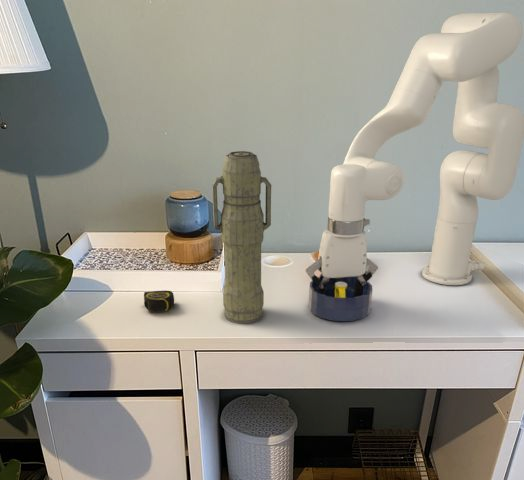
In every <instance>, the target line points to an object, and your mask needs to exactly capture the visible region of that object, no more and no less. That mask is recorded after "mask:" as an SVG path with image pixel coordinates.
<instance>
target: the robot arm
mask: <svg viewBox="0 0 524 480" xmlns="http://www.w3.org/2000/svg"><path fill="white" fill-rule="evenodd" d="M522 27H523V26H522V23H521V20H520V18H519V17H518V16H517V14H516V15H515V13H513V12H508V11H498V12H497V11H496V12H495V11H494V12H465V13H458V14H454V15H452V16H449V17H448V18H446V20H444V22H443V23H442V26H441V28H440V32H435V33H434V32H433V33H427V34H425V35H423V36H421V37H420V38H419V39H418V40H417V41H416V42H415V43H414V46H413V47H412V49H411V52H409V53H410V54H409V56H408V58H407V60H406V62H405V65H404V67H403V69H402V71H401V74H400V76H399V78H398V80H397V83H396V85H395V86H394V89H393V91H392V94H391V95H390V98H389V100H388V102H387V104H386V105H385V106H384V107H383V108H382V109H381V110H380V111H379V112H378V113H376V114H375V115H374V116H373V117H372V118H371V119H370V120H369V121H367V122H366V124H365V125H364V126H363V127H362V128H360V130H358V132H357V134H356V135H355V137H354V139H353V140H352V142H351V144H350V146H349V148H348V151H347V153H346V155H345V158H344V161H343V163H342V164H338V165H335V166H334V167H333V168H332V169H331V172H330V178H329V179H330V180H329V181H330V182H329V196H328V198H329V199H328V212H327V213H328V214H327V215H328V216H327V229H324V230H323V231H322V235H321V240H320V244H319V251H318V252H319V257H318V260H317V261H316V262H315V263H314V262H312V263H311V265H309V266H308V267H307V268H306V269H305V272H306V274H307V276H308V277H309V278H310V279H311V281H313V282H314V283H315V284H316V285H318V293H321V294H323V295H326V294H327V289H326V287H325V285H326V284H327V282H328V281H329V279H330V278H344V277H356V279H357V280H356V281H355V283H354V293H353V297H358V296H362V295H363V286H364V285H366V282H367V281H368V282H369V281H370V279H372V277H373V275H374V274H375V273H376V272H377V271H378V270H379V266H378V265H377V264H376V263H375V262H374V261H372V260H370V259H369V258H368V248H367V247H368V246H367V245H368V244H367V235H366V231H365V227H366V226H370V224H371V220H370V219H369V218H366V217H365V210H366V202H367V201H387V200H390V199H393V198H394V197H396V196H398V194H400V192H401V191H402V190H403V189H402V188H403V186H404V183H405V176H404V174H403V171H402V170H401V168H400V167H398V166H397V165H396V164H394V163H390V162H387V161H382V160H379V159H375V155H376V154H377V153H378V151H379V149H381V147H382V146H383V145H384V144H386V142H387V141H389V140H391V139H392V138H393V137H395V136H397V135H399V134H402V133H405V132H407V131H409V130H411V129H414V128H416V127H419V126H421V125H423V123H424V122H425V121H426V120H427V117H428V115H429V113H430V112H431V109H432V107H433V104H434V102H435V100H436V98H437V97H438V94H439V91H440V89H441V88H442V86H443V83H444V82H452V83H453V82H454V83H455V82H456V83H457V92H456V100H455V107H454V115H453V123H452V136H453V138H454V140H455V141H456V142H457V143H459V144H462V145H465V146H470V147H475V148H480V149H487V150H488V153H484V152H480V151H474V150H468V149H458V150H454V151H452V152H450V153H448V155H446V157H444V159H443V160H442V162H441V165H440V169H439V201H438V209H437V216H436V222H435V228H434V235H433V240H432V241H433V242H432V246H431V247H432V248H431V253H430V260H429V264H428V265H427V266H424V268H422V270H421V275H422V277H423V278H424V279H425V280H427V281H429V282H432V283H434V284H438V285H444V286H462V285H467V284H469V283H470V282H472V280H473V274H472V272H474V271H484V270H485V269H486V263H485V262H476V260H470V258H471V252H472V247H473V243H474V237H475V232H476V228H477V227H476V226H477V221H478V217H479V203H478V198H481V199H485V200H491V201H498V200H501V199H503V198H505V197H506V196H507V195H508V194H509V193H510V191H511V190H512V188H513V186H514V183H515V180H516V177H517V172H518V168H519V163H520V158H521V154H522V153H521V152H522V148H523V143H524V113H523V111H522V109H521V108H520V107H518V106H517V105H515V104H510V103H503V102H498V91H499V84H500V71H499V66H498V65H501V64H502V63H503V62H505V61H506V60H508V59H509V58H510V57H511V56H512V55H513V54H514V52H515V51H516V50H517V48H518V47H519V44H520V43H521V39H522V34H523V28H522ZM367 267H368V268H367ZM316 271H318V272H320V274H319V276H318V275H316V274H315V272H316ZM318 277H319V278H318Z"/></svg>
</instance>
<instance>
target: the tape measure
mask: <svg viewBox="0 0 524 480" xmlns="http://www.w3.org/2000/svg"><path fill="white" fill-rule="evenodd" d="M143 304H144V305H143V306H144V307H145V309H146V310H147V311H149V312H151V313H152V312H153V313H163V312H168V311H170V310H172V309H173V308H174V307H175V296H174V292H173V291H171V290H153V291H144V292H143Z"/></svg>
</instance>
